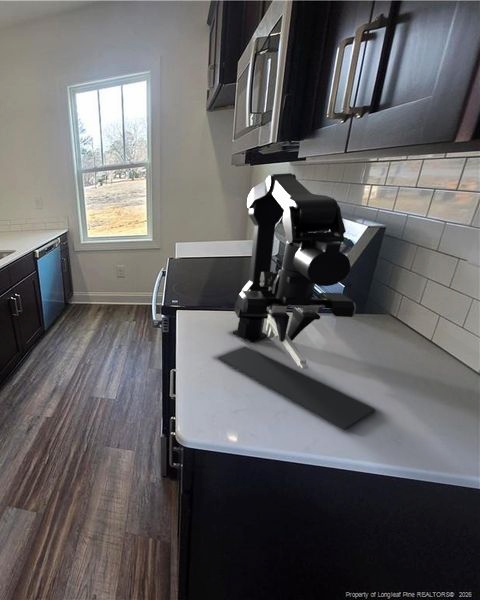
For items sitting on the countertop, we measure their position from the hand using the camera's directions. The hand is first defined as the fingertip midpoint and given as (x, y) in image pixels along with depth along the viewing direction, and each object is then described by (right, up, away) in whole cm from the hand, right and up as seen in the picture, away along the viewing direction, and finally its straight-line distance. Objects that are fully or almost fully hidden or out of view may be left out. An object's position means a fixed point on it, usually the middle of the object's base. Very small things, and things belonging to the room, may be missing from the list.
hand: (284, 341), depth 65 cm
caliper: (0, -2, 0) cm, 2 cm away
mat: (+3, -9, +5) cm, 11 cm away
